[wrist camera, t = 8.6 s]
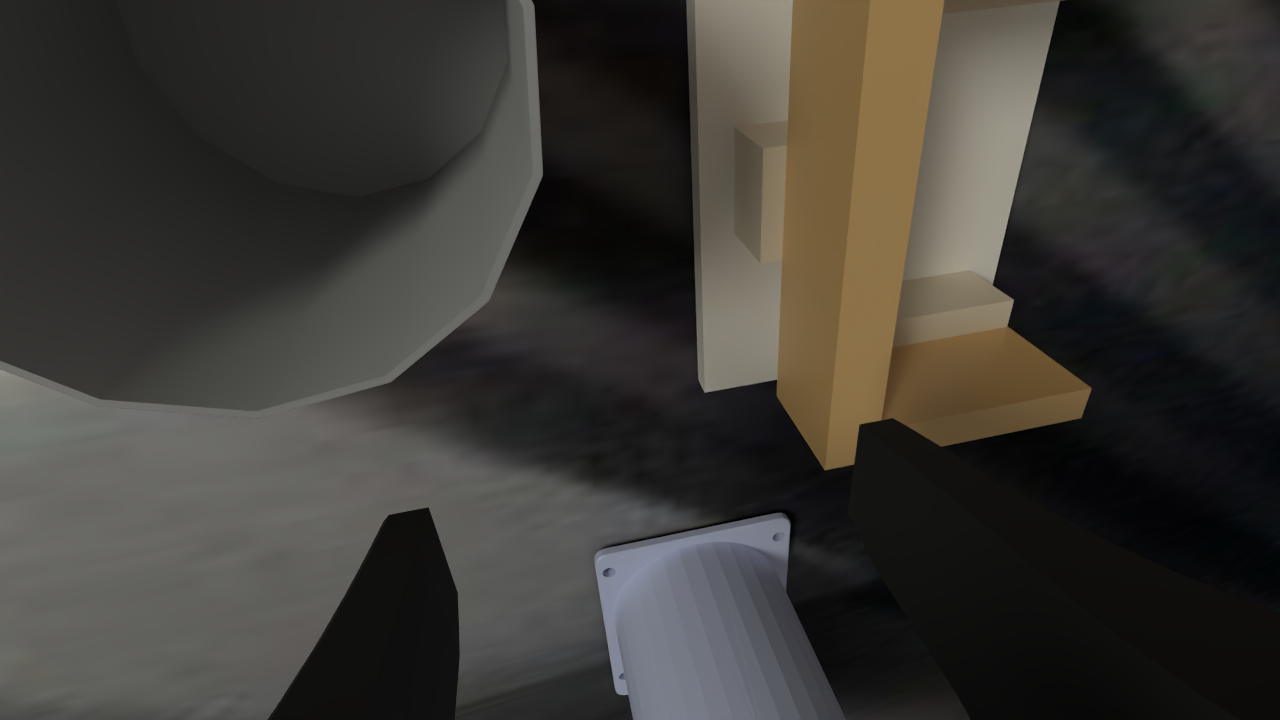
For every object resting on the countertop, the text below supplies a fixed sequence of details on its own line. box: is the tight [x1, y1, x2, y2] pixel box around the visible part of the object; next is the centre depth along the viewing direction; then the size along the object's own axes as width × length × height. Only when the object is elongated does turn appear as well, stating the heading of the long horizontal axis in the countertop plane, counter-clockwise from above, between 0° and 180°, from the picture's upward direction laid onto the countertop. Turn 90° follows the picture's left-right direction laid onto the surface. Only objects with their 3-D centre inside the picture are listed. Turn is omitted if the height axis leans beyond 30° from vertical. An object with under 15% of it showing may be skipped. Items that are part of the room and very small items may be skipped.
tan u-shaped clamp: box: [777, 0, 1092, 470], centre depth 16 cm, size 7×12×3 cm, turn 5°
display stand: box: [686, 0, 1063, 392], centre depth 19 cm, size 10×14×3 cm
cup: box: [0, 0, 543, 419], centre depth 11 cm, size 8×8×10 cm
